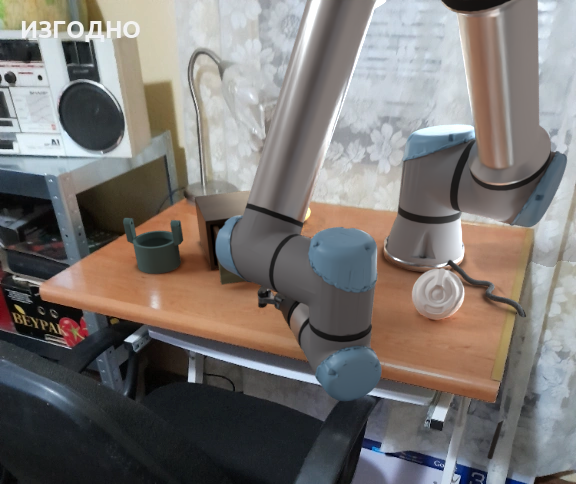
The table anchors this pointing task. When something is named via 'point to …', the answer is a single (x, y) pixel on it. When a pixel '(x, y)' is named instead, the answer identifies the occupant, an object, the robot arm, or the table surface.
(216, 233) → the case drawer
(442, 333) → the table surface
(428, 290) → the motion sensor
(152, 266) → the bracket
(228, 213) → the case
